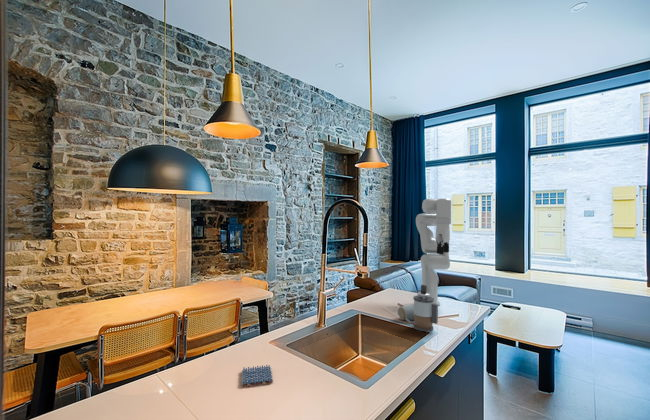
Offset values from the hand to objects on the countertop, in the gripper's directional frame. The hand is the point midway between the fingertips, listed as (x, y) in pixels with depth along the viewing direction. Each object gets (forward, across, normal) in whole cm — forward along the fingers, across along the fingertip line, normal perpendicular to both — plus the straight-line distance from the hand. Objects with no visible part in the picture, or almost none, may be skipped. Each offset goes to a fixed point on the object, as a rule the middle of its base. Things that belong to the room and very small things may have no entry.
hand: (443, 253), depth 158 cm
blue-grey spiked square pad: (+37, +99, -31) cm, 110 cm away
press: (+36, +17, -4) cm, 40 cm away
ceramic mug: (+37, +11, -14) cm, 41 cm away
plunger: (+28, +17, -4) cm, 33 cm away
